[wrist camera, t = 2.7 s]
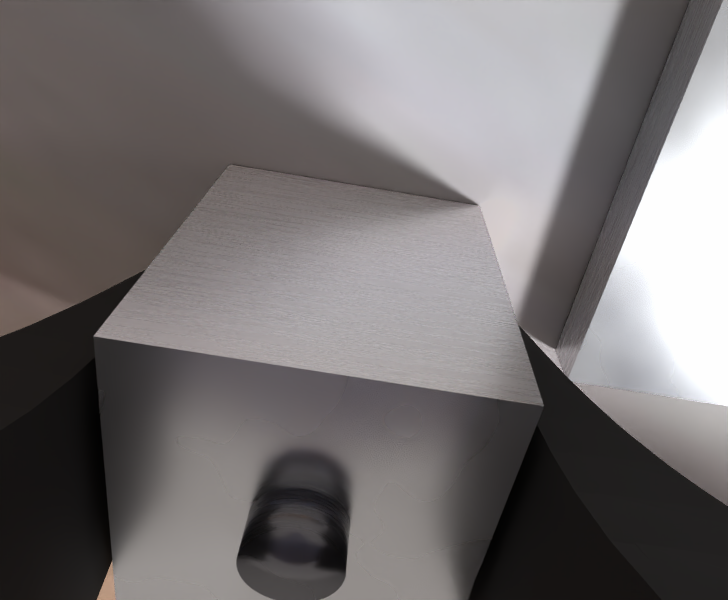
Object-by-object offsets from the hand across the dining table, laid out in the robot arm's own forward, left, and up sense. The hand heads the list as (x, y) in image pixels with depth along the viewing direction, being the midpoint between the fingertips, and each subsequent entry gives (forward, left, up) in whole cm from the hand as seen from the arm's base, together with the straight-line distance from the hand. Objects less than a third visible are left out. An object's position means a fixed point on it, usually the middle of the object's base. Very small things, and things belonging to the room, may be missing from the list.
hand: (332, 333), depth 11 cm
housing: (0, 0, -1) cm, 1 cm away
